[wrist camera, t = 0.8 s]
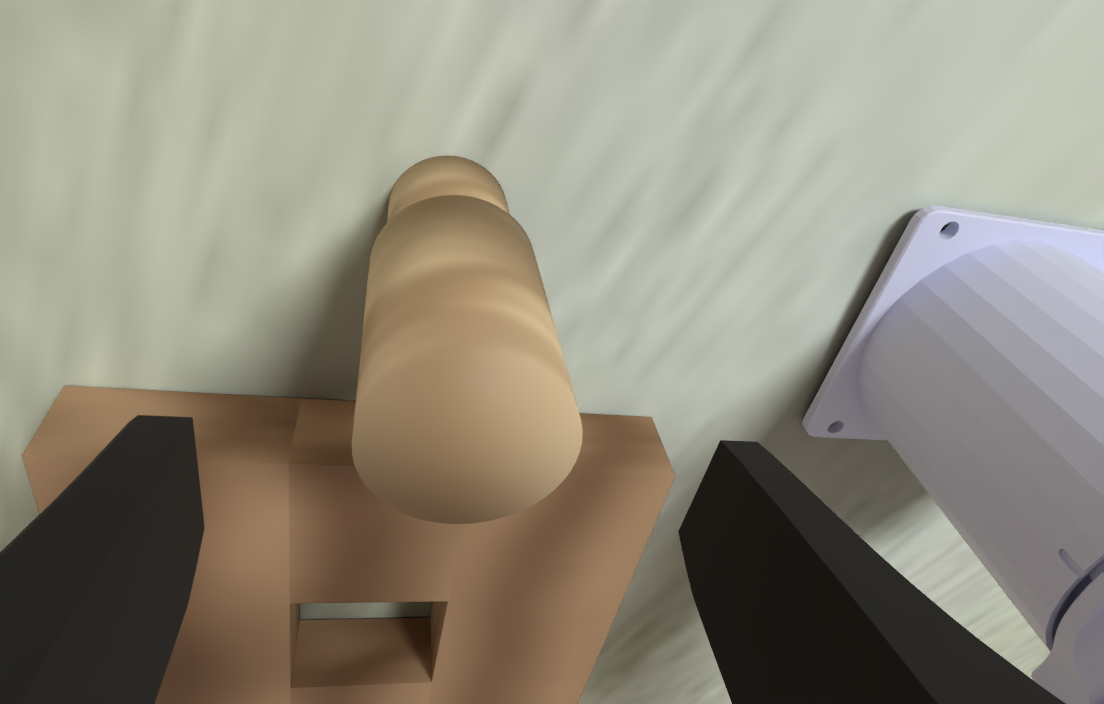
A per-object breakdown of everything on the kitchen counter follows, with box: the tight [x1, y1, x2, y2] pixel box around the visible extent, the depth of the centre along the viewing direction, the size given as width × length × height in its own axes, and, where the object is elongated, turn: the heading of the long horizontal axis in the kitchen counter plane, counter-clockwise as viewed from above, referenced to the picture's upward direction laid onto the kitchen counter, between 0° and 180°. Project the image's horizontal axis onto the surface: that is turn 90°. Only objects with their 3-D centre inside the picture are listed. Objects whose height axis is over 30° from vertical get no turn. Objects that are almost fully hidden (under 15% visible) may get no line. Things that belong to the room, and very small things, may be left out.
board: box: [22, 386, 675, 704], centre depth 23 cm, size 16×16×2 cm
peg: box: [352, 156, 583, 524], centre depth 14 cm, size 3×3×8 cm
